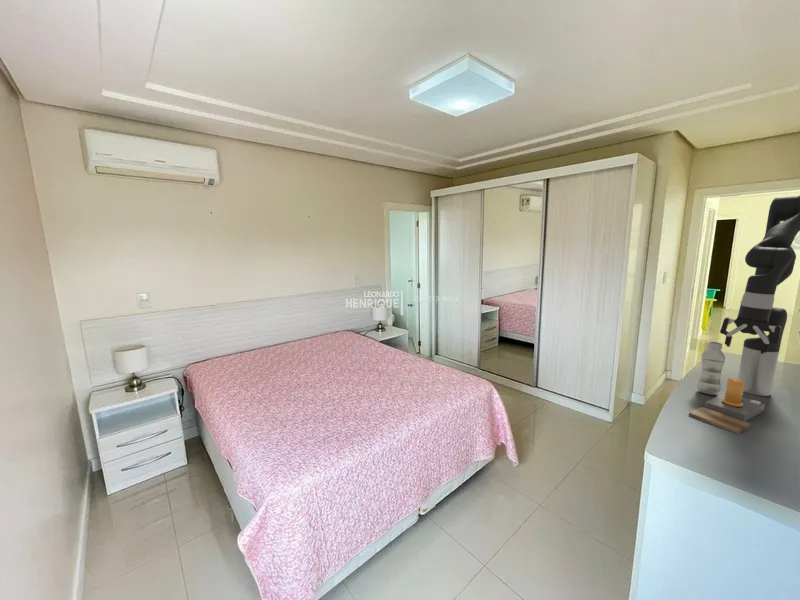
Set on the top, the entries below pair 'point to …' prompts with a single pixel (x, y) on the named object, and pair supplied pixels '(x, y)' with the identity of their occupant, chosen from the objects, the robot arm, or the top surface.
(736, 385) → the plug
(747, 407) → the grey socket board
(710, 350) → the plastic bottle
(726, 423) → the board
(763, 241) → the robot arm
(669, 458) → the top surface
